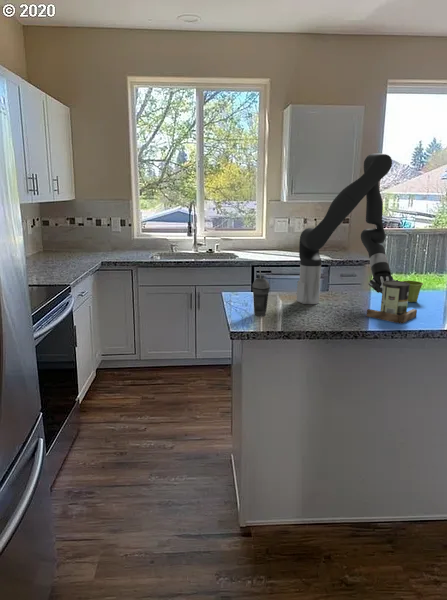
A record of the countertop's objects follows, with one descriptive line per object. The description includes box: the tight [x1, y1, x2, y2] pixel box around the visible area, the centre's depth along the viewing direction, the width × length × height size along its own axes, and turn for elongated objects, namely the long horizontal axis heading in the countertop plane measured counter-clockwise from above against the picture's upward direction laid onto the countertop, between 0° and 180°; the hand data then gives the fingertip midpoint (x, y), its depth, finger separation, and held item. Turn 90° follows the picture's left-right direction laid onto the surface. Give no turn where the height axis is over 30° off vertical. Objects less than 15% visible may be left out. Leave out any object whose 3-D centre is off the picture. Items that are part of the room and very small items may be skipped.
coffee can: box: [379, 280, 410, 315], centre depth 184 cm, size 10×10×14 cm
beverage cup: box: [251, 266, 270, 317], centre depth 184 cm, size 7×7×20 cm
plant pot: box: [402, 280, 424, 303], centre depth 210 cm, size 9×9×9 cm
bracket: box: [366, 308, 418, 325], centre depth 181 cm, size 11×21×3 cm, turn 92°
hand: (387, 300), depth 190 cm, fingers closed
